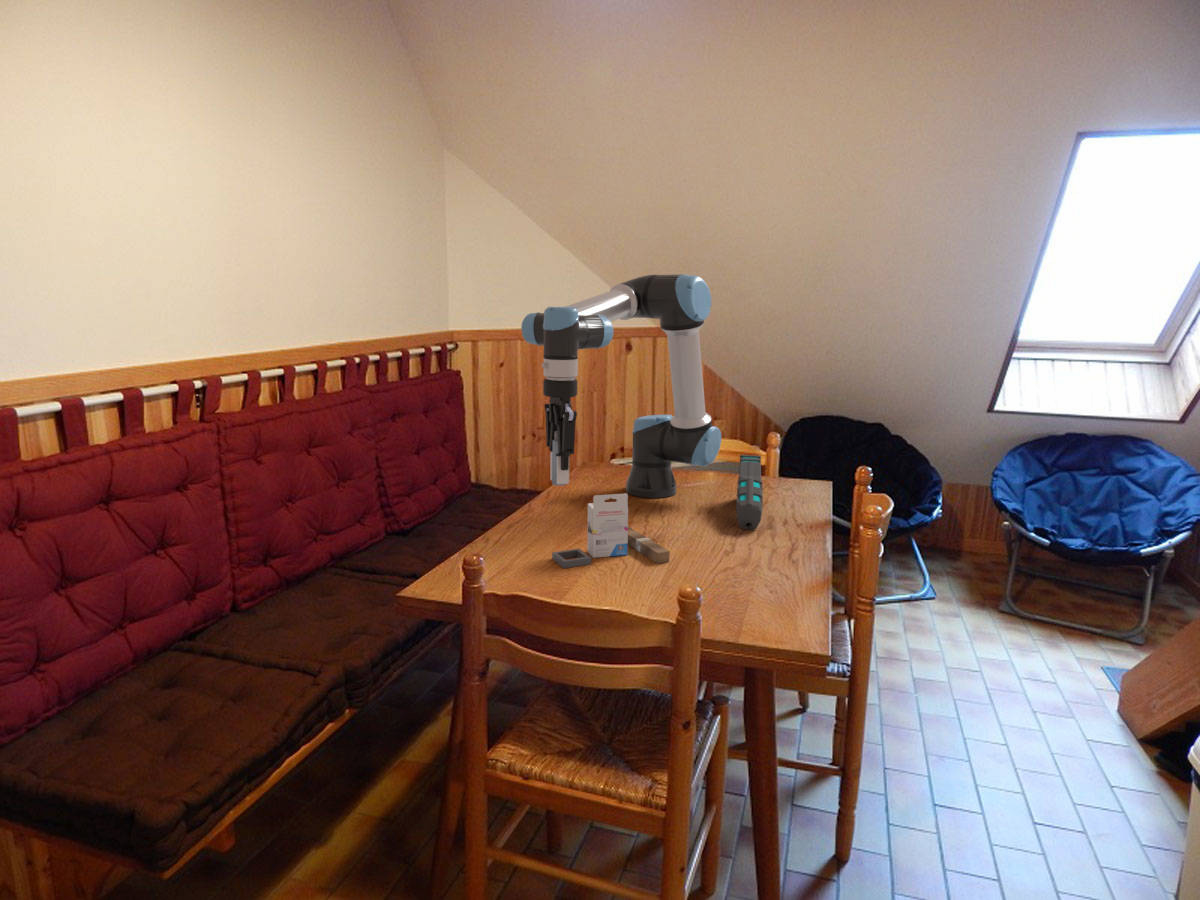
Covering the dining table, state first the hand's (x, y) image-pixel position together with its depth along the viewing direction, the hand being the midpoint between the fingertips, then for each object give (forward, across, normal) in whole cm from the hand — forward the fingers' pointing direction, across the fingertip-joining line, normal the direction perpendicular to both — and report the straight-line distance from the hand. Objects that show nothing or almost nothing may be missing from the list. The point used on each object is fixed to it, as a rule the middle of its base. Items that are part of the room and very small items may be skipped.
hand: (559, 481), depth 174 cm
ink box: (+17, +4, +10) cm, 20 cm away
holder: (+17, +6, 0) cm, 18 cm away
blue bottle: (+1, 0, 0) cm, 1 cm away
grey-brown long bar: (+17, +3, +19) cm, 26 cm away
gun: (+17, -9, +59) cm, 62 cm away
